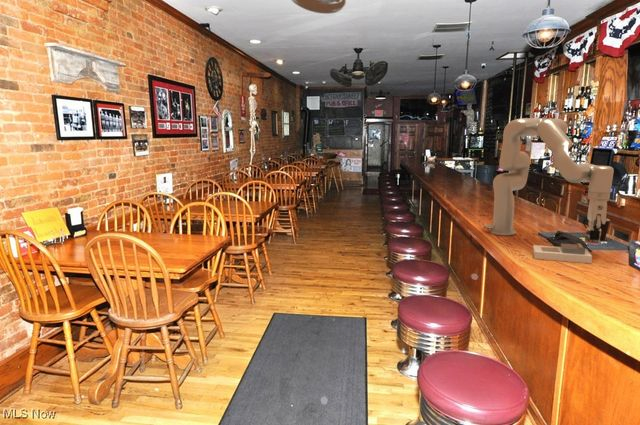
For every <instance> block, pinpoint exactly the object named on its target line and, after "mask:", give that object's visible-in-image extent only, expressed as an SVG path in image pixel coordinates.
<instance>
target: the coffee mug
mask: <svg viewBox="0 0 640 425" xmlns="http://www.w3.org/2000/svg"><path fill="white" fill-rule="evenodd" d="M586 221H587V223H589V220H588V218H585V219H583V221H582V224H583V226H584V228H585V229H586V228H587V227H588V226H587V225H586V224H585V222H586ZM610 221H611V219H609V218H606V222H605V224H602V223H601V226H600V229H601V236H600V242H605V241H606V239H607V234H608V230H609V225H610V223H611V222H610Z"/></svg>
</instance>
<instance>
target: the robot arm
mask: <svg viewBox="0 0 640 425" xmlns="http://www.w3.org/2000/svg"><path fill="white" fill-rule="evenodd" d="M567 131H568V124H567V122H566V121H565V120H563V119H562V118H545V117H544V118H543V117H542V118H541V117H533V118H532V117H531V118H530V117H529V118H528V117H526V118H525V117H523V118H517V119H516V118H515V119H513V120H510V121H509V122H508V123H507V124H506V125H505V127H504V130H503V135H502V145H501V150H500V158H499V164H498V165H499V168H500V169H501V170H502V171H506V172H504V173H499V174H498V175H496V176H495V177H494V178H493V181H492V187H493V193H494V194H493V195H494V196H493V198H494V200H493V218H492V219H493V220H492V221H493V222H492V223H491V224H485V223H484V224H483V228H484V229H486V230H489V233H490V234H493V235H494V236H495V235H497V236H505V237H507V236H514V235H516V233H517V231H516V230H514V217H515V216H514V215H515V196H514V193H513V191H519V190H522V189H523V188H525V186H526V184H527V181H528V177H529V170H530V166H531V158H530V156H529V154H528V153H526V151H521V148H522V140H521V137H536V136H537V137H540V139H541V140H542V142H544V144H545V145H546V147H547V148H548V149H549V151H551V153H552V157H553V158H552V159H553V164H554V167H555V169H556V170H557V171H558V172H559V174H560V175H561V176H562V177H563V178H564V180H566V181H567V182H569V183H573V184H574V183H581V182H582V183H583V182H589V184H588V192H587V196H586V197H587V198H586V199H587V200H589V202H588V203H589V204H588V209H587V218H586V219H588V220H589V222H591V223H592V230H591V232H590V240H599V236H600V226H601V223H602V224H605V222H606V219H607V210H608V202H609V201H610V197H611V191H612V185H613V177H614V171H615V170H614V169H615V168H613V167H612V166H609V165H595V164H592V163H580V164H579V163H578V164H577V163H576V162H575V161H574V160H573V158H572V157H571V156H570V153H569V149H570V148H571V147H572V144H573V142H572V140H571V138H570V137H568V135H567V134H566V133H567ZM509 171H510V172H509ZM588 220H587V221H588ZM594 222H596V223H594ZM587 223H588V222H587ZM594 225H595V226H594ZM587 227H589V223H588V224H587Z"/></svg>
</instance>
